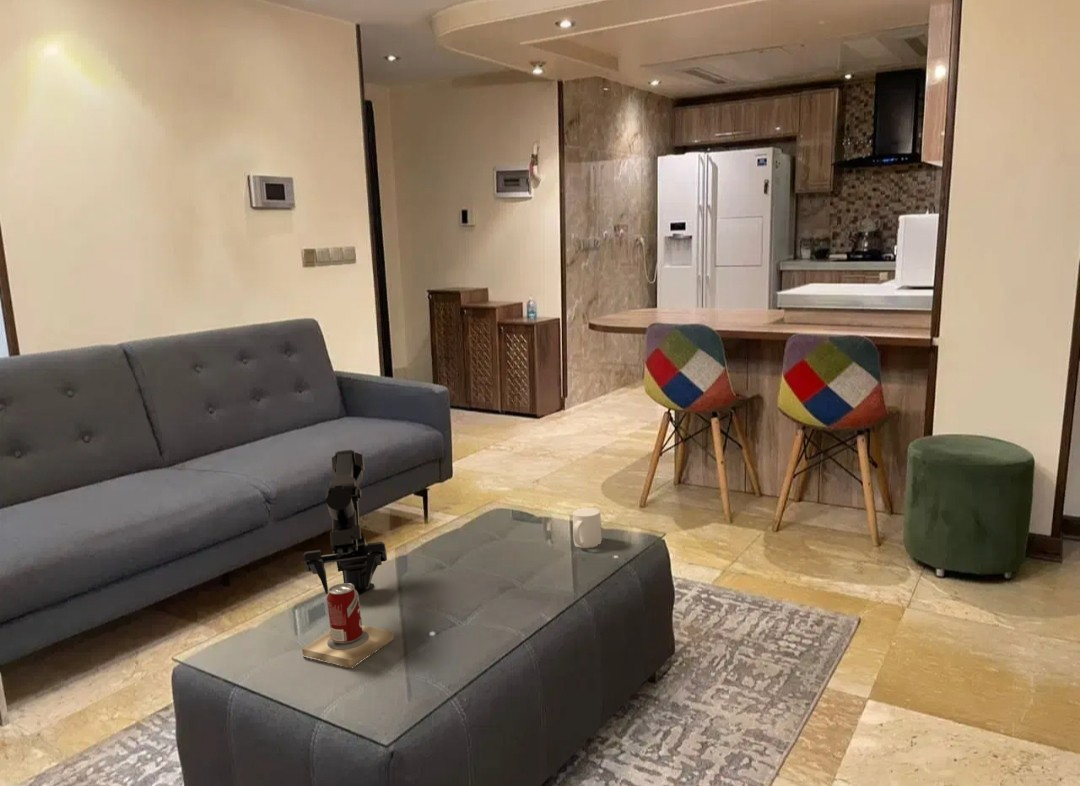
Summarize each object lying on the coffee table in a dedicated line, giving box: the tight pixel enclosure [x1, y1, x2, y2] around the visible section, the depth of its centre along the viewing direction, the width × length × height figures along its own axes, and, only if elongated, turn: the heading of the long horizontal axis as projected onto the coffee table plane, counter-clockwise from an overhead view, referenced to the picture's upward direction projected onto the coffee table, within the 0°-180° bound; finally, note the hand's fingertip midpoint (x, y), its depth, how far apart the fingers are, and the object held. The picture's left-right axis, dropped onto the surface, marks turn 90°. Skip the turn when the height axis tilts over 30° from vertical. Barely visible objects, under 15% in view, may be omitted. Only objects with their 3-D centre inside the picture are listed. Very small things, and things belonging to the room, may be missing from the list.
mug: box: [572, 507, 603, 549], centre depth 233 cm, size 12×9×8 cm
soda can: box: [326, 582, 363, 644], centre depth 178 cm, size 7×7×12 cm
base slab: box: [301, 625, 395, 669], centre depth 179 cm, size 14×14×2 cm
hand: (347, 590), depth 185 cm, fingers open, 9 cm apart
